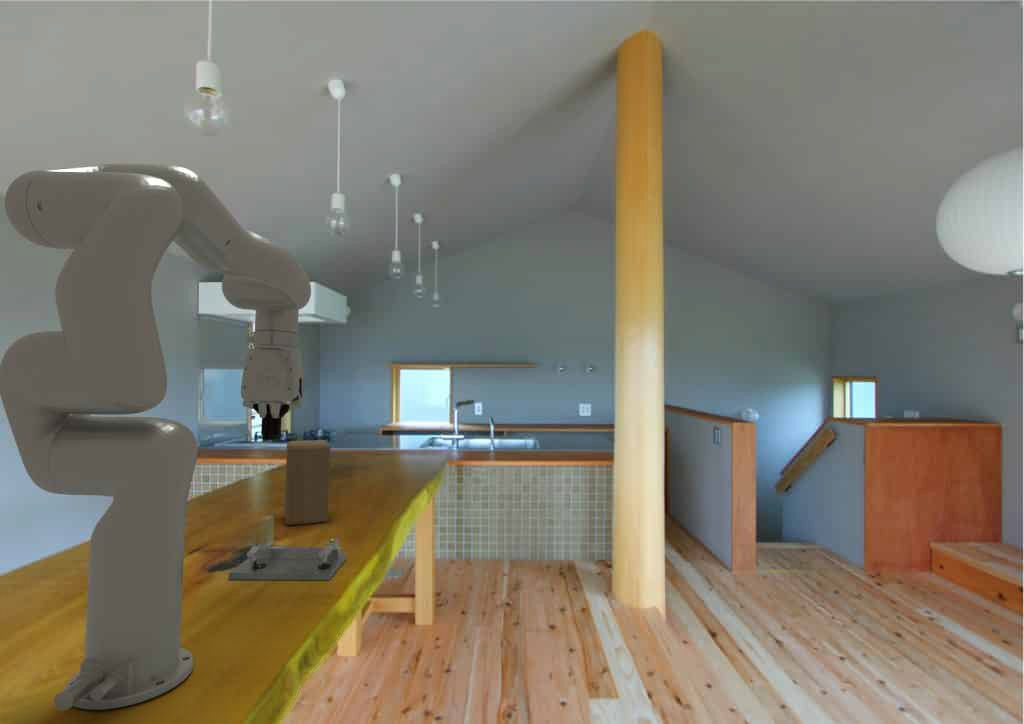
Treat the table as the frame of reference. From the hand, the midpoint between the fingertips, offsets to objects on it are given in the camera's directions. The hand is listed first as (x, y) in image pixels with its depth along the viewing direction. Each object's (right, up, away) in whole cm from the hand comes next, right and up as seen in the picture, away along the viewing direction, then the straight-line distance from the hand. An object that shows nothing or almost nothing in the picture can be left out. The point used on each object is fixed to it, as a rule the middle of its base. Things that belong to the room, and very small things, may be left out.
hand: (270, 439), depth 102 cm
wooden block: (-8, -27, +38) cm, 47 cm away
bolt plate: (+3, -25, +3) cm, 26 cm away
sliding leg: (-3, -24, +2) cm, 24 cm away
